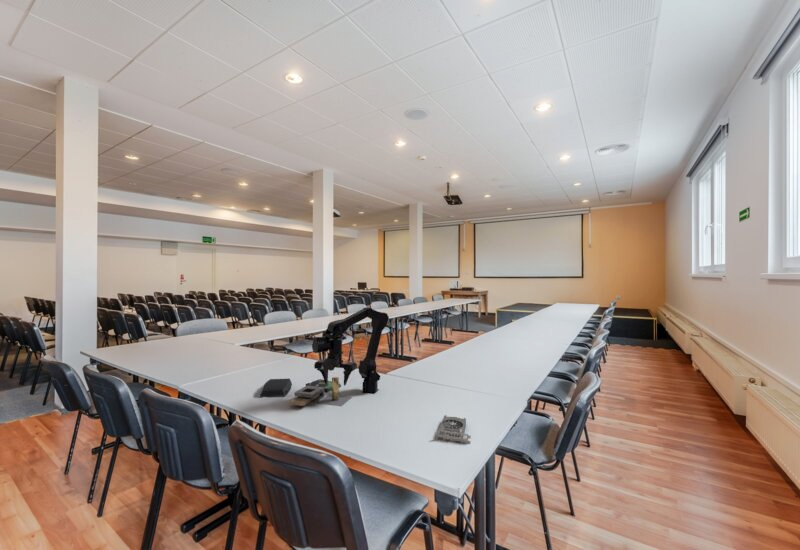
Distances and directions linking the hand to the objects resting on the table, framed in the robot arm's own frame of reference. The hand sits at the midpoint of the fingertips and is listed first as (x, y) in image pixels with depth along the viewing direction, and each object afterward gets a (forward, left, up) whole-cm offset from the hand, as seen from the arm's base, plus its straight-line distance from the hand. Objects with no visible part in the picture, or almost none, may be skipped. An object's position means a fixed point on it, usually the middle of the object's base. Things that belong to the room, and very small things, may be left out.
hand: (335, 384), depth 156 cm
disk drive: (+14, -15, -8) cm, 22 cm away
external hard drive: (+34, -5, -8) cm, 36 cm away
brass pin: (0, 0, -7) cm, 7 cm away
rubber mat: (0, 0, -7) cm, 7 cm away
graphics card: (-56, +16, -8) cm, 59 cm away
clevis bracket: (+11, +6, -7) cm, 15 cm away
